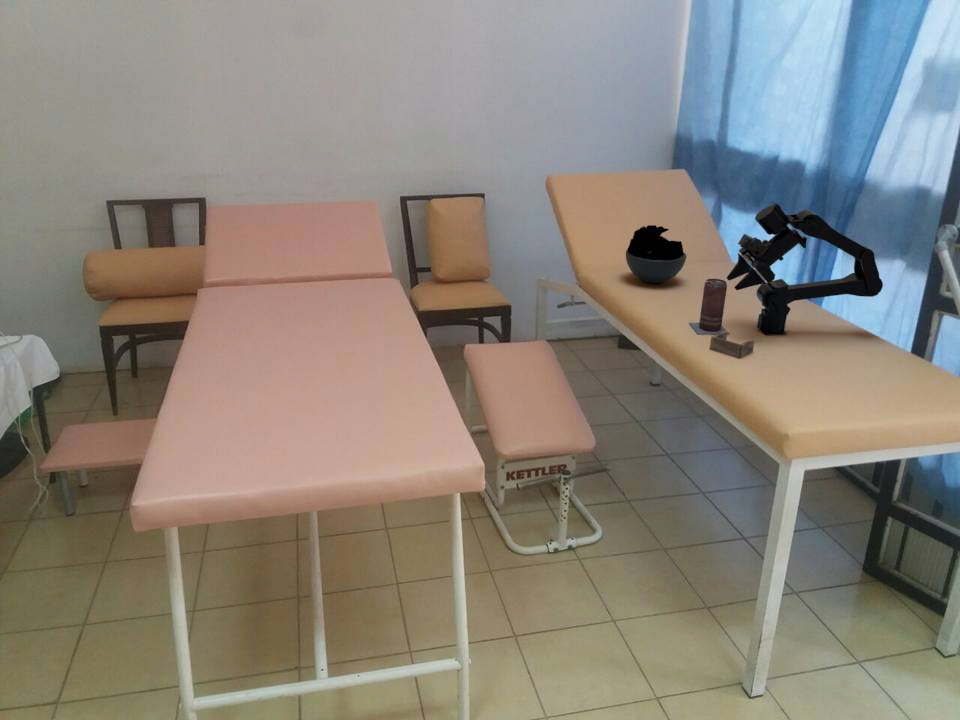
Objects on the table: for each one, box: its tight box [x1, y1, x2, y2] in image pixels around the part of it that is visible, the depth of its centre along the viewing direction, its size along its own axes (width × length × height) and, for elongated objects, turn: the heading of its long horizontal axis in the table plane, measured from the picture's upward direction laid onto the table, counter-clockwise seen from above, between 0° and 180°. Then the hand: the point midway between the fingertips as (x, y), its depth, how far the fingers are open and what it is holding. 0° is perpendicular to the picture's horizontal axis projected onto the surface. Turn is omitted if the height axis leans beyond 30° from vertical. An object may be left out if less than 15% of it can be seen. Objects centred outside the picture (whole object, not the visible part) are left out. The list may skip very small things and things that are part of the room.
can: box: [698, 278, 728, 331], centre depth 220 cm, size 6×6×14 cm
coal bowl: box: [625, 224, 687, 284], centre depth 262 cm, size 20×20×19 cm
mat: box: [688, 322, 730, 335], centre depth 223 cm, size 9×9×1 cm
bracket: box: [709, 330, 756, 359], centre depth 208 cm, size 7×9×4 cm
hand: (731, 284), depth 218 cm, fingers open, 9 cm apart
